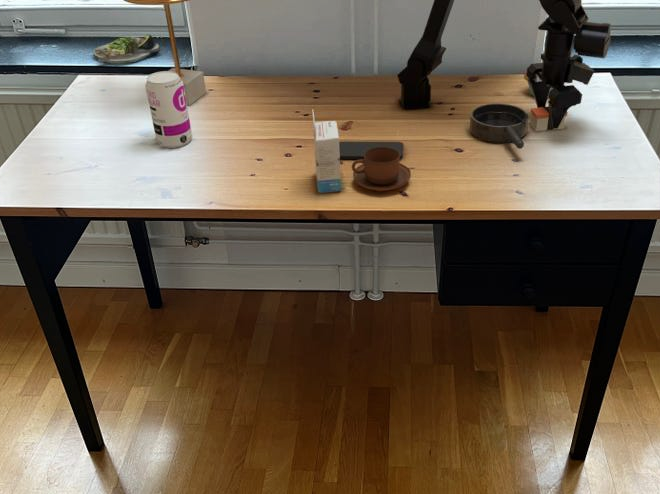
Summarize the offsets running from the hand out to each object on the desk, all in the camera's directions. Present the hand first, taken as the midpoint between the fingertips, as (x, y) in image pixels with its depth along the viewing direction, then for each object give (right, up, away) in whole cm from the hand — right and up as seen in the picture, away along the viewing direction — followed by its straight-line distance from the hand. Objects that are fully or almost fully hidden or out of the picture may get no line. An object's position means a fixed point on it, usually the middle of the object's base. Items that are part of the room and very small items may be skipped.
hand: (548, 120), depth 180 cm
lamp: (-89, +12, +20) cm, 92 cm away
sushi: (0, -1, +1) cm, 2 cm away
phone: (-42, -9, -7) cm, 43 cm away
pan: (-12, -3, 0) cm, 12 cm away
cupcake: (+2, +12, +16) cm, 20 cm away
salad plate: (-110, +33, +45) cm, 124 cm away
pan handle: (-10, -8, -10) cm, 16 cm away
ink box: (-50, -19, -17) cm, 56 cm away
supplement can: (-87, -5, 0) cm, 87 cm away
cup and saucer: (-39, -18, -17) cm, 47 cm away
